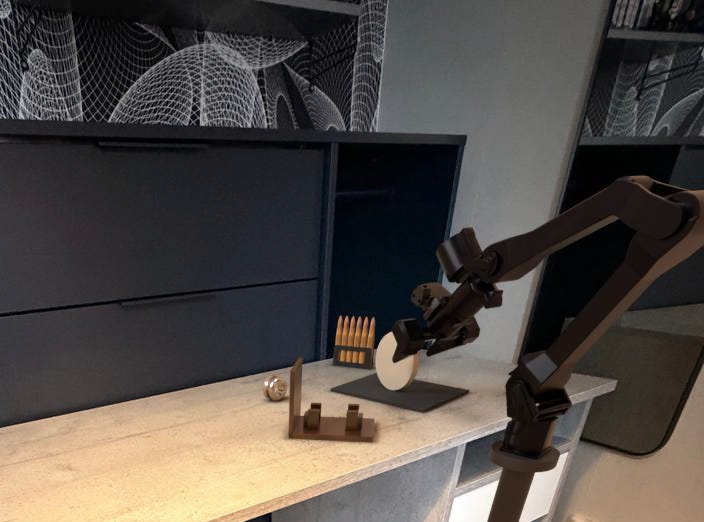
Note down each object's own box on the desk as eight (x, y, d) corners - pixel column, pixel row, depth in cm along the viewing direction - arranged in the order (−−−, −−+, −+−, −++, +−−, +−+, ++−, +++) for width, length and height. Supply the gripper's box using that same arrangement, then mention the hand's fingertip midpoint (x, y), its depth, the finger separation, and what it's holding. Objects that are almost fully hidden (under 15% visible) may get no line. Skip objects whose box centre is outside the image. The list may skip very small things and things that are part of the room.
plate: (418, 390, 109) (421, 329, 103) (412, 391, 108) (415, 330, 103) (380, 387, 119) (381, 331, 113) (375, 388, 118) (375, 332, 113)
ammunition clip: (332, 365, 137) (335, 315, 130) (335, 363, 138) (338, 314, 131) (369, 369, 131) (375, 318, 124) (372, 367, 132) (378, 316, 125)
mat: (468, 392, 111) (469, 389, 111) (423, 412, 102) (423, 409, 102) (377, 374, 127) (377, 372, 126) (330, 390, 118) (330, 388, 117)
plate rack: (374, 423, 99) (382, 358, 92) (372, 442, 91) (381, 372, 84) (296, 420, 102) (298, 357, 95) (288, 438, 95) (290, 371, 88)
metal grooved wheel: (279, 396, 116) (279, 373, 113) (288, 398, 114) (288, 375, 111) (262, 400, 114) (262, 377, 111) (271, 403, 112) (272, 380, 109)
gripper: (482, 262, 97) (429, 319, 111) (406, 271, 90) (360, 330, 105) (506, 313, 95) (449, 364, 110) (430, 325, 89) (380, 378, 104)
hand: (410, 358), depth 107 cm, fingers open, 9 cm apart
